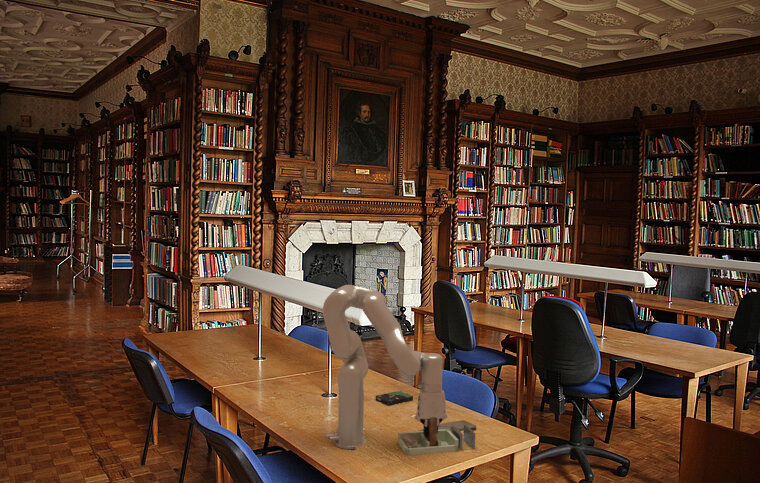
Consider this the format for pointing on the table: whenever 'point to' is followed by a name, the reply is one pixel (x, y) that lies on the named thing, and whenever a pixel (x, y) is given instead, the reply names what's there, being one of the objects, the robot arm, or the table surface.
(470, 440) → the stand
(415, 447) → the offcut lower
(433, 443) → the walnut board
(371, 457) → the table surface
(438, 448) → the tray
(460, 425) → the stone slab
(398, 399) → the disk drive
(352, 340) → the robot arm
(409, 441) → the offcut upper
